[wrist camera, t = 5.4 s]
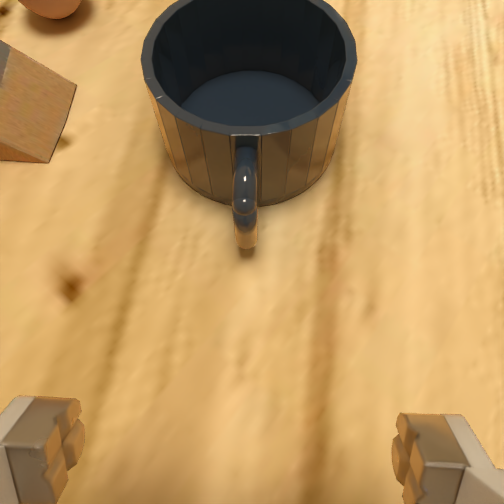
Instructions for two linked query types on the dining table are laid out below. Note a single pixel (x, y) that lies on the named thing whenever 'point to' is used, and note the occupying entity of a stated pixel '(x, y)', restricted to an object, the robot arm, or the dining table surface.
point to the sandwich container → (30, 107)
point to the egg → (51, 7)
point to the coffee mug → (249, 97)
